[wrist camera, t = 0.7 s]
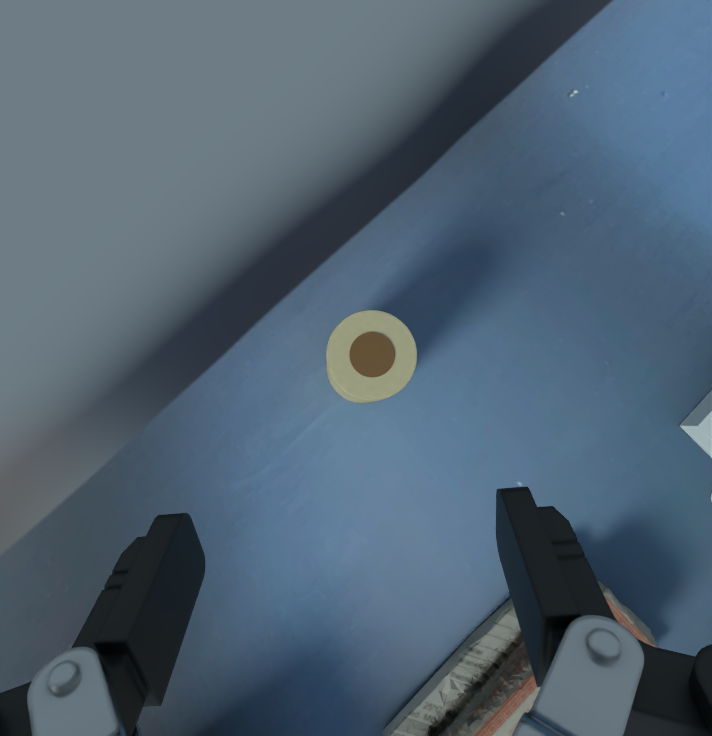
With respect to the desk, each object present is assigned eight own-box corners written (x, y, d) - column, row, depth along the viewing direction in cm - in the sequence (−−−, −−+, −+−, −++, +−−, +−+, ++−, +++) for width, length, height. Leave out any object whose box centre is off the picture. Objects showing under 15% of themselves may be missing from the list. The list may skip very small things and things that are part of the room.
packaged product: (593, 561, 32) (704, 680, 32) (558, 541, 37) (654, 644, 37) (384, 779, 30) (500, 907, 30) (376, 729, 35) (476, 839, 35)
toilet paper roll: (321, 397, 37) (320, 393, 29) (332, 326, 37) (333, 303, 29) (392, 407, 37) (411, 406, 29) (402, 337, 37) (423, 316, 29)
